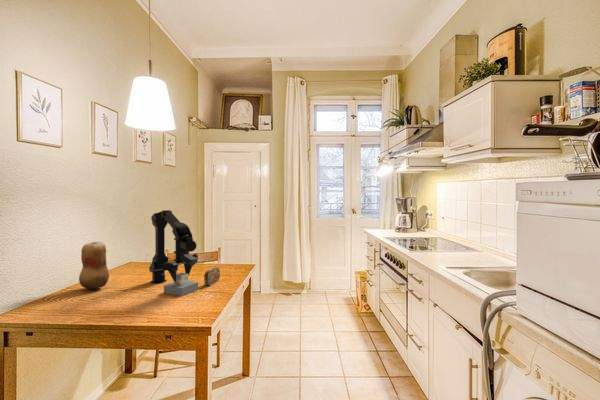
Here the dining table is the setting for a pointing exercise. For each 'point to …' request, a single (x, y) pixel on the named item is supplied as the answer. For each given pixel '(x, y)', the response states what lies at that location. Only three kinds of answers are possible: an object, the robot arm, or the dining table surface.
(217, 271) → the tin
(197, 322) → the dining table surface
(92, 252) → the butternut squash
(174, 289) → the plinth
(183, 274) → the cube
